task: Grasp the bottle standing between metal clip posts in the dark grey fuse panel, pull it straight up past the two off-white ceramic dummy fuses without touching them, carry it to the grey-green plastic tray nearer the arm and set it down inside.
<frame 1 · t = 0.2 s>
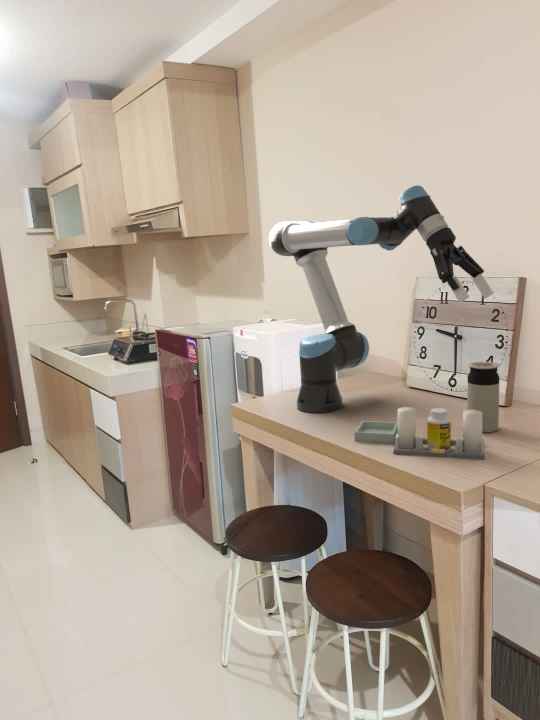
hand: (477, 297, 146), 36 cm above the table, tool tilted 35°, fingers open, 13 cm apart
supplement bottle: (438, 450, 136), resting in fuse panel
tray: (377, 435, 148), on the table
travel mug: (482, 429, 149), on the table
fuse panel: (438, 449, 136), on the table
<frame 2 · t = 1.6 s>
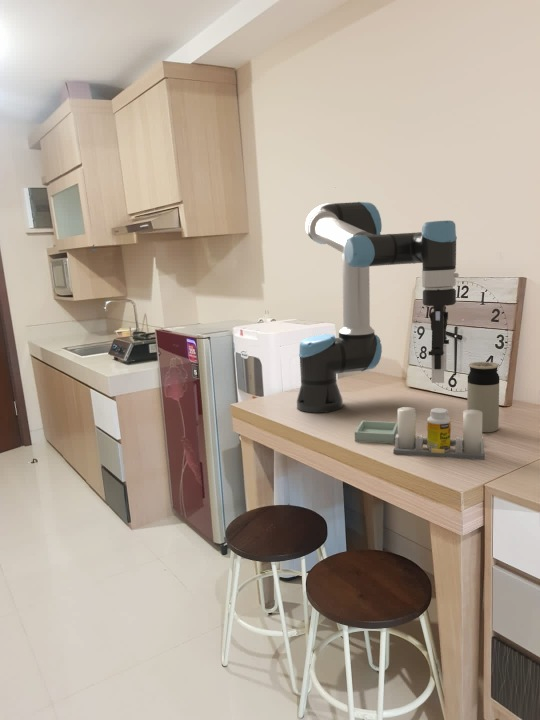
hand: (439, 376, 132), 19 cm above the table, tool pointing down, fingers open, 13 cm apart
nothing on the table moved.
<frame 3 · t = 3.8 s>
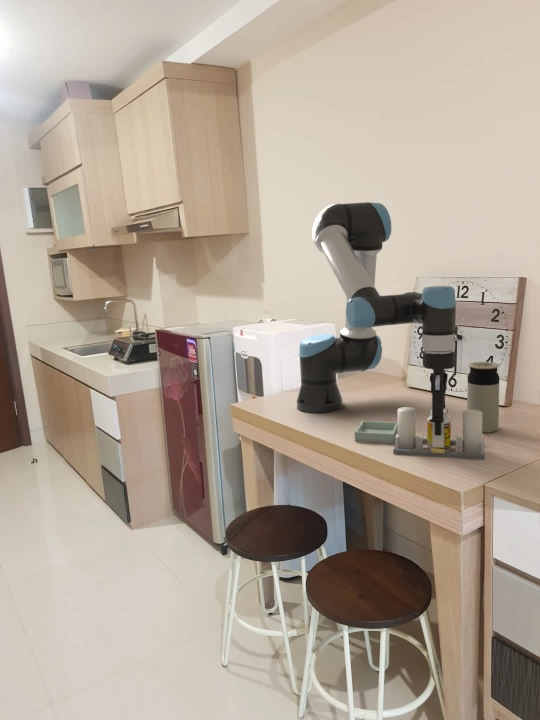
hand: (438, 442, 135), 2 cm above the table, tool pointing down, fingers closed on supplement bottle, 6 cm apart
supplement bottle: (438, 450, 136), resting in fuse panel, touching gripper
everything else where it was.
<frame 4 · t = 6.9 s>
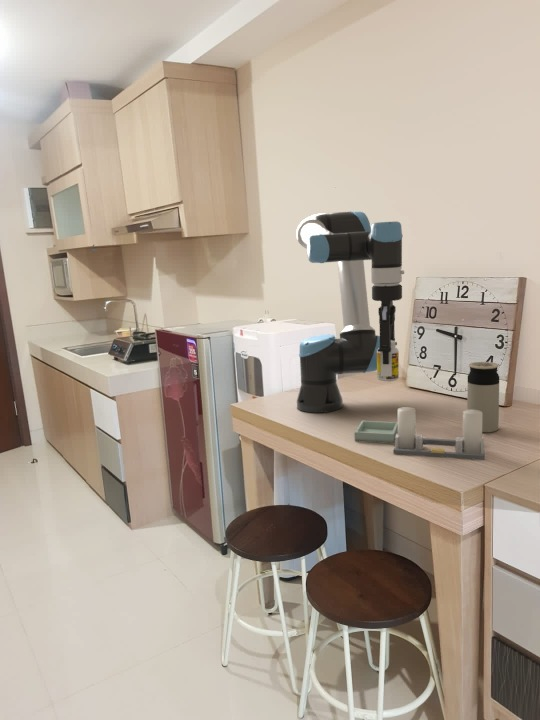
hand: (387, 372, 143), 18 cm above the table, tool pointing down, fingers closed on supplement bottle, 6 cm apart
supplement bottle: (387, 380, 144), point 16 cm above the table, touching gripper
everything else where it was.
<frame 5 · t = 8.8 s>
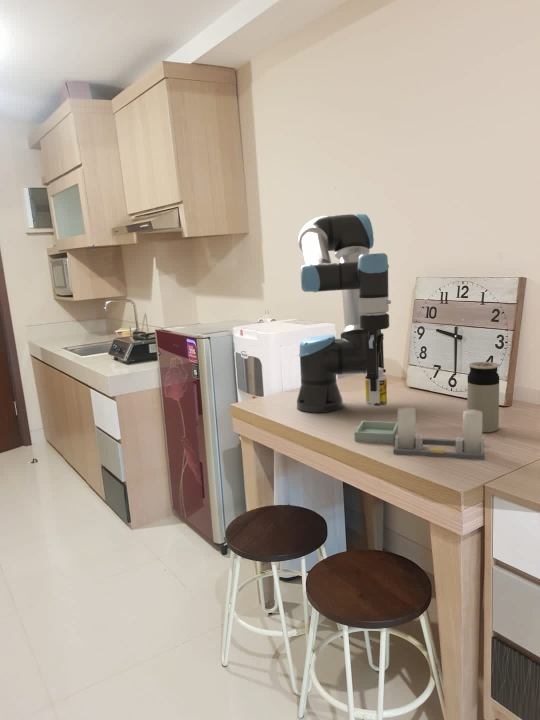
hand: (376, 399, 146), 10 cm above the table, tool pointing down, fingers closed on supplement bottle, 6 cm apart
supplement bottle: (376, 406, 147), point 8 cm above the table, touching gripper
everything else where it was.
when the fingers open (4 cm above the table, at t = 10.3 s): supplement bottle drops 1 cm, resting on tray.
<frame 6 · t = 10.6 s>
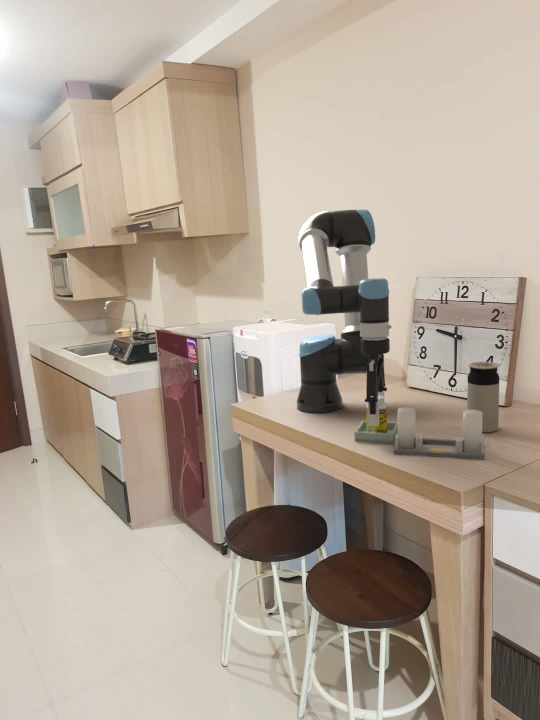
hand: (376, 419, 148), 5 cm above the table, tool pointing down, fingers open, 9 cm apart
supplement bottle: (377, 434, 149), resting on tray
everything else where it was.
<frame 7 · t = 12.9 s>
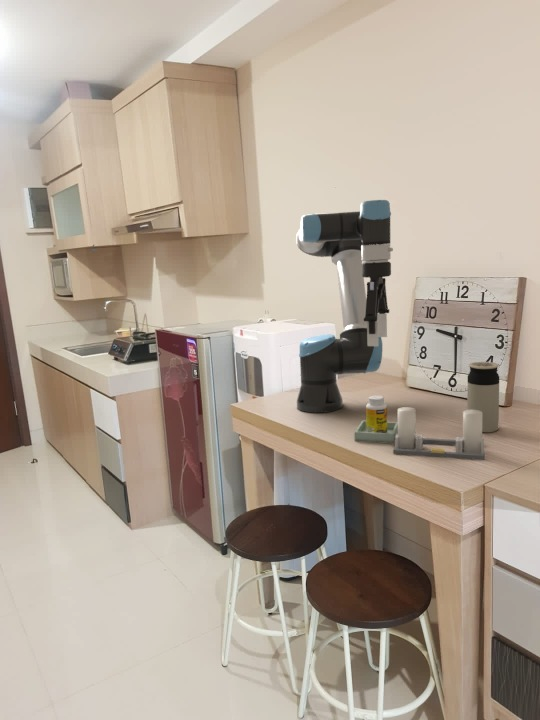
hand: (377, 341, 147), 26 cm above the table, tool pointing down, fingers open, 13 cm apart
nothing on the table moved.
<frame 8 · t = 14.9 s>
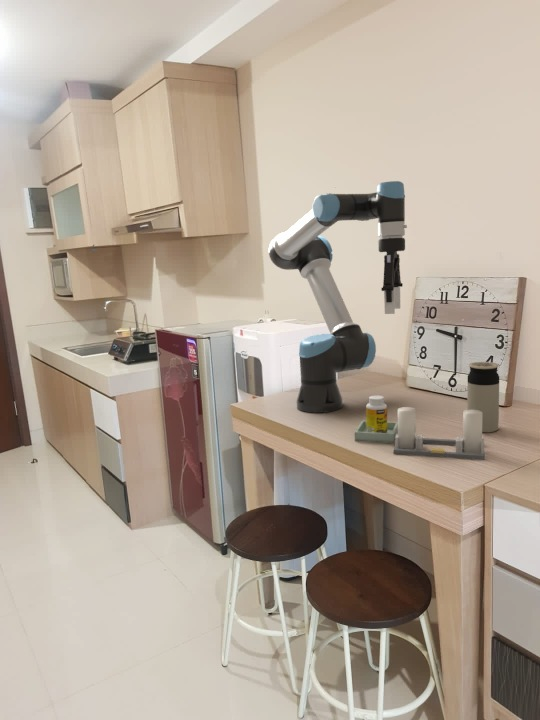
hand: (392, 311, 161), 32 cm above the table, tool pointing down, fingers open, 13 cm apart
nothing on the table moved.
at the end: supplement bottle inside the target area on the tray (0.3 cm from its centre), point 0.4 cm above the tray's base; supplement bottle tilted 0°; the gripper is holding nothing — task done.
